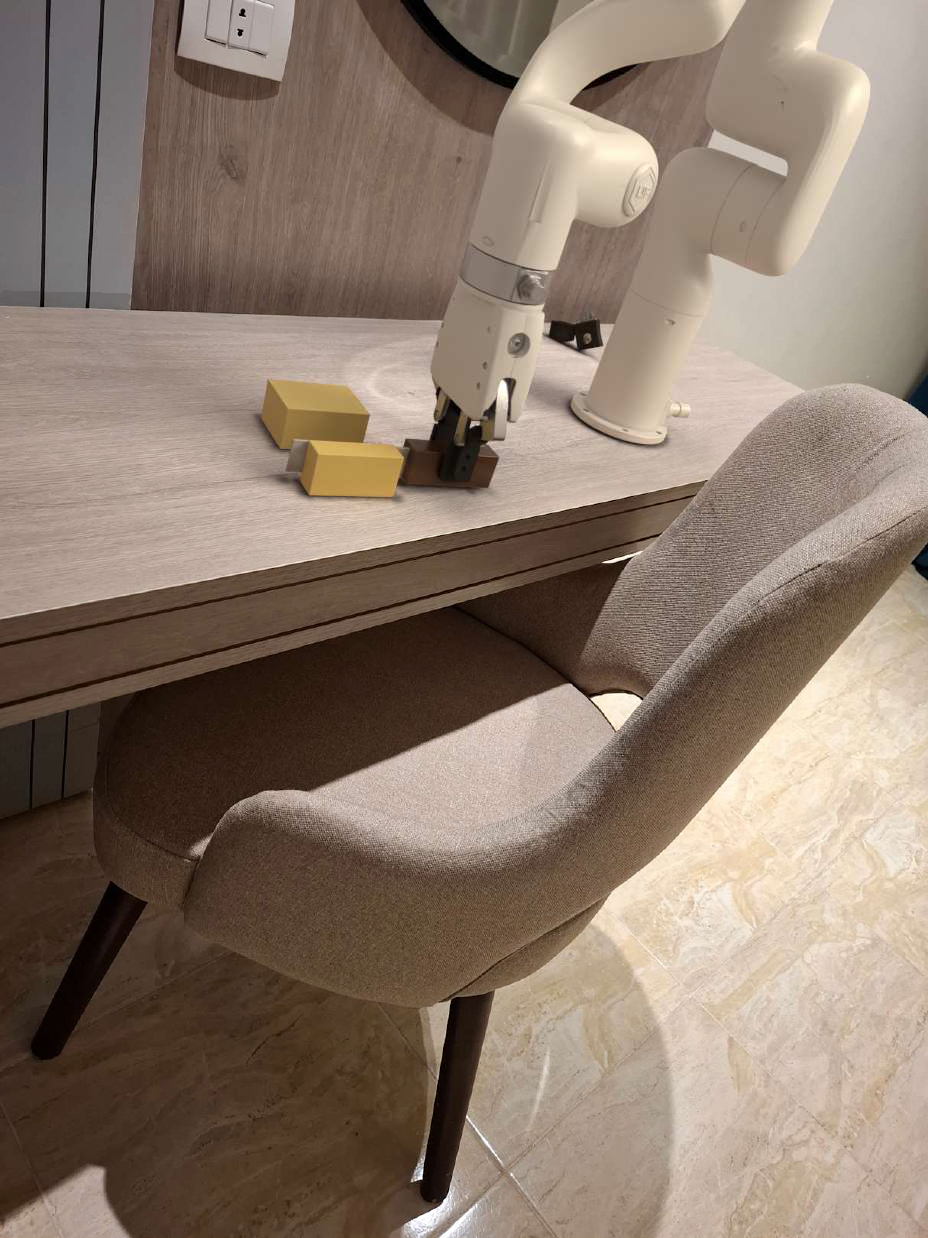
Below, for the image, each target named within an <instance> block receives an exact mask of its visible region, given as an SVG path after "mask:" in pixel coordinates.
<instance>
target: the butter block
mask: <svg viewBox="0 0 928 1238" xmlns="http://www.w3.org/2000/svg"><path fill="white" fill-rule="evenodd" d="M370 417H371V414H370V412H369V411H368V410H367V409H366V407H365V406H364V404H363V403H362V402H361V401H360V400H359V399H358V397H357V396H356V395H355V393H354V392H353V391H352V390H351V389H350V387H349V386H348V385H341V384H340V385H339V384H332V383H331V384H330V383H319V382H306V381H297V380H296V381H295V380H283V379H273V378H268V379H267V382H266V387H265V393H264V400H263V405H262V411H261V416H260V419H261V421H262V423H264V425H265V427H266V428H267V430H268V432H269V433H270V435H271V436H272V439H273V440H274V442H275V443H276V445H277V446H278V448H279V449H280V450H290V449H291V445H292V440H293V439H301V440H318V441H335V442H353V443H364V441H365V438H366V432H367V430H368V426H369V421H370Z"/></svg>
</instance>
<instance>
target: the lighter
mask: <svg viewBox="0 0 928 1238" xmlns="http://www.w3.org/2000/svg"><path fill="white" fill-rule="evenodd" d="M580 315H581V320H580V319H576V322H575V323H572V322H569V321H564V320H553V319H551V321H550V325H549V332H548V337H550V338H551V339H553V340H555V341H557V342H562V343H570V342H574V341H575V344H576V350H577V352H581V351H586V350H590V349H591V350H592V349H596V348H601V347H604V342H603V338H602V334H601V333H602V331H601V320H600V319H599V318H594V317H595V316H594V312H591V311H584V312H581V314H580Z"/></svg>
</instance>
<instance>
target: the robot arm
mask: <svg viewBox="0 0 928 1238" xmlns="http://www.w3.org/2000/svg"><path fill="white" fill-rule="evenodd" d="M834 1H835V0H592V1H591V2H589V3H588V4H586V5H585V6H583V7H582V8H580V9H579V10H578V11H576V12H575V13H574V14H572V15H571V16H569V17H568V18H566V19H565V20H564V21H563V22H562V23H560V24H559V25H558V26H557V27H556V28H555V29H553V30H552V31H551V32H550V33H549V34H548V35H547V36H546V38H545V39H544V40H543V41H542V42H541V43H540V45H539V46H538V48H537V49H536V50H535V52H534V54H533V55H532V57H531V58H530V60H529V61H528V63H527V65H526V67H525V69H524V70H523V72H522V74H521V76H520V78H518V81H517V83H516V85H514V88H513V89H512V91H511V93H510V95H509V97H508V99H507V101H506V103H505V104H504V108H503V110H502V111H501V114H500V115H499V118H498V121H497V123H496V126H495V130H494V134H493V137H492V145H491V156H490V160H489V164H488V167H487V171H486V175H485V179H484V182H483V186H482V189H481V194H480V196H479V201H478V204H477V208H476V211H475V215H474V218H473V222H472V226H471V229H470V233H469V235H468V241H467V244H466V247H465V251H464V254H463V260H462V263H461V266H460V269H459V273H458V275H457V283H456V285H455V287H454V290H453V292H452V294H451V296H450V299H449V302H448V305H447V308H446V311H445V313H444V316H443V319H442V322H441V325H440V328H439V331H438V335H437V338H436V342H435V345H434V348H433V353H432V358H431V362H430V374H431V380H432V383H433V387H434V389H435V399H436V404H435V407H434V410H433V413H432V417H433V418H432V419H433V421H434V422H435V423H433V425H432V430H431V433H430V436H429V439H428V440H434V441H446V442H448V445H447V448H446V452H445V455H444V459H443V462H442V465H441V469H440V472H439V475H438V478H439V479H440V480H441V481H442V482H460V483H467V482H469V481H470V479H471V476H472V473H473V470H474V467H475V464H476V461H477V458H478V455H479V452H480V449H481V447H485V446H486V445H487V443H489V442H498V443H499V442H501V443H503V442H504V441H505V440H506V437H507V426H508V425H507V423H509V424H515V423H517V422H518V421H519V420H520V418H521V416H522V414H523V411H524V408H525V404H526V401H527V398H528V394H529V391H530V388H531V385H532V381H533V377H534V374H535V370H536V366H537V362H538V358H539V354H540V348H541V344H542V338H543V334H544V325H545V317H546V316H545V315H546V314H545V312H544V311H543V309H544V307H545V305H546V301H547V298H548V295H549V292H550V289H551V287H552V284H553V281H554V277H555V274H556V271H557V268H558V265H559V263H560V260H561V257H562V253H563V251H564V247H565V245H566V241H567V238H568V236H569V233H570V230H571V227H572V223H573V221H574V220H576V221H580V222H583V223H587V224H590V225H592V226H595V227H598V228H606V229H611V228H618V227H621V226H624V225H626V224H629V223H630V222H632V221H633V220H635V219H636V218H637V217H639V216H640V215H641V214H642V213H643V212H644V210H645V209H646V208H647V206H648V205H649V204H650V202H651V200H652V198H653V196H654V194H655V192H656V195H655V200H654V205H653V209H652V214H651V219H650V223H649V229H648V231H647V234H646V238H645V242H644V244H643V247H642V250H641V254H640V257H639V259H638V261H637V265H636V267H635V269H634V272H633V275H632V278H631V280H630V283H629V286H628V288H627V290H626V293H625V296H624V299H623V301H622V304H621V306H620V309H619V311H618V314H617V316H616V319H615V322H614V324H613V326H612V329H611V332H610V335H609V337H608V339H607V342H606V344H605V348H604V350H603V353H602V355H601V358H600V361H599V362H598V365H597V368H596V371H595V373H594V375H593V379H592V381H591V384H590V386H589V389H588V390H583V391H578V392H576V393H575V394H574V395H573V396H572V398H571V401H570V408H571V410H572V412H573V413H574V414H575V415H576V416H577V417H578V418H579V419H580V420H581V421H583V422H584V423H586V424H587V425H589V427H592V428H593V429H595V430H597V431H599V432H602V433H604V434H606V435H608V436H610V437H613V438H615V439H619V440H621V441H625V442H629V443H634V444H640V445H657V444H660V443H662V442H664V440H665V439H666V437H667V433H668V428H667V426H666V424H665V421H666V419H670V418H671V417H673V418H679V419H686V418H688V417H690V415H691V411H692V408H691V404H690V403H688V402H683V401H682V402H681V401H675V402H674V400H673V399H672V398H671V394H672V393H673V392H672V391H673V389H674V387H675V385H676V383H677V381H678V378H679V375H680V374H681V371H682V369H683V367H684V364H685V362H686V360H687V358H688V356H689V353H690V351H691V349H692V347H693V344H694V341H695V339H696V338H697V335H698V333H699V330H700V328H701V326H702V323H703V321H704V319H705V317H706V315H707V313H708V312H709V309H710V306H711V303H712V301H713V296H714V288H715V285H714V284H715V282H714V281H715V280H714V272H713V267H712V261H711V255H713V256H716V257H719V258H721V259H724V260H726V261H728V262H731V263H732V264H735V265H738V266H740V267H742V268H744V269H746V270H749V271H752V272H754V273H757V274H759V275H762V276H764V277H765V276H767V277H780V276H782V275H785V274H787V273H788V272H789V271H791V270H792V269H793V268H794V267H795V265H796V264H797V263H798V262H799V261H800V260H801V258H802V257H803V254H804V253H805V252H806V249H807V248H808V246H809V244H810V242H811V240H812V237H813V235H814V234H815V232H816V229H817V227H818V225H819V223H820V221H821V219H822V217H823V214H824V212H825V210H826V208H827V205H828V203H829V201H830V199H831V197H832V195H833V193H834V190H835V188H836V186H837V184H838V181H839V179H840V178H841V175H842V173H843V170H844V168H845V166H846V164H847V162H848V160H849V158H850V155H851V154H852V151H853V149H854V147H855V145H856V142H857V140H858V137H859V136H860V133H861V130H862V128H863V126H864V123H865V120H866V118H867V113H868V110H869V107H870V100H871V82H870V79H869V77H868V75H867V73H866V72H865V71H864V70H863V69H862V68H861V67H859V66H858V65H856V64H854V63H852V62H851V61H848V60H845V59H842V58H839V57H837V56H833V55H830V54H827V53H825V52H821V51H819V50H817V49H818V42H819V39H820V35H821V34H822V31H823V28H824V25H825V23H826V22H827V18H828V15H829V13H830V10H831V8H832V6H833V3H834ZM726 36H727V37H726ZM725 37H726V40H725V43H724V45H723V48H722V51H721V53H720V56H719V58H718V62H717V65H716V67H715V71H714V73H713V76H712V79H711V82H710V85H709V89H708V93H707V95H706V100H705V109H704V112H705V118H706V122H707V123H708V124H709V126H710V127H711V129H713V130H715V131H716V132H717V133H719V134H721V135H723V136H725V137H727V138H730V139H731V140H734V141H735V142H738V143H741V144H743V145H746V146H749V147H751V148H754V149H757V150H759V151H762V152H764V153H767V154H769V155H772V156H774V157H777V158H779V159H781V160H784V161H785V162H786V165H787V172H786V175H784V174H781V173H778V172H776V171H774V170H770V169H768V168H765V167H763V166H760V165H759V164H758V163H754V162H752V161H749V160H747V159H744V158H742V157H740V156H736V155H734V154H731V153H729V152H727V151H723V150H720V149H716V148H713V147H708V146H707V147H706V146H694V147H690V148H686V149H684V150H682V151H680V152H678V154H676V155H675V156H674V157H673V158H672V159H671V160H670V162H669V163H668V164H667V165H666V167H665V169H664V171H663V173H662V176H661V178H660V181H659V184H658V180H659V162H658V157H657V154H656V152H655V150H654V147H653V146H652V145H651V144H650V142H649V141H648V140H647V139H646V138H645V137H644V136H642V135H641V134H639V133H638V132H636V131H635V130H632V129H630V128H628V127H626V126H623V125H622V124H621V125H620V124H618V123H615V122H613V121H611V120H608V119H605V118H603V117H601V116H599V115H597V114H595V113H592V112H590V111H587V110H585V109H582V108H579V107H577V106H575V105H572V104H571V102H572V101H573V100H574V98H576V97H577V95H578V94H579V93H580V92H581V91H582V90H583V89H584V88H585V87H587V86H588V85H589V84H591V83H592V82H593V81H595V80H596V79H598V78H600V77H601V76H604V75H605V74H608V73H611V72H612V71H614V70H618V69H621V68H624V67H626V66H627V67H628V66H632V65H637V64H643V63H648V62H655V61H661V60H666V59H667V60H668V59H672V58H680V57H684V56H690V55H695V54H696V55H697V54H699V53H702V52H705V51H709V50H711V49H712V48H714V47H715V46H717V45H718V44H719V43H721V42H722V40H724V38H725ZM657 185H658V188H657ZM656 188H657V191H656ZM472 422H479V424H478V425H473V426H471V424H472Z"/></svg>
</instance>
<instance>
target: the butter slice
mask: <svg viewBox="0 0 928 1238" xmlns="http://www.w3.org/2000/svg"><path fill="white" fill-rule="evenodd" d="M396 447H397V446H396V445H395V444H388V443H387V444H386V443H385V444H384V443H369V442H367V443H366V442H363V443H353V442H335V441H318V440H309V442H308V447H307V451H306V456H305V461H304V466H303V470H302V473H301V476H300V479H299V481H300V484H301V485H302V486H303V488H304V490H305V492H306V494H308V496H316V497H317V496H324V497H362V498H365V497H366V498H368V497H369V498H394V496H395V493H396V488H397V484H398V481H399V479H400V478H399V475H400V471H401V468H402V464H403V461H404V457H403V456H402V455H401V453H400V452H399V451H398V449H397V448H396Z"/></svg>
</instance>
